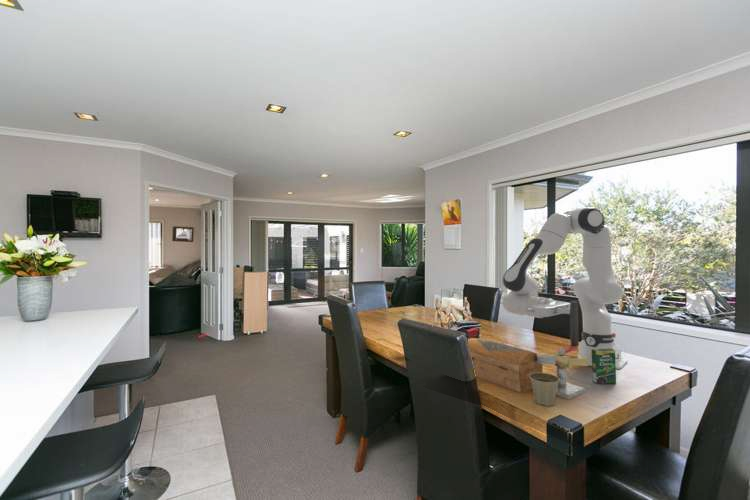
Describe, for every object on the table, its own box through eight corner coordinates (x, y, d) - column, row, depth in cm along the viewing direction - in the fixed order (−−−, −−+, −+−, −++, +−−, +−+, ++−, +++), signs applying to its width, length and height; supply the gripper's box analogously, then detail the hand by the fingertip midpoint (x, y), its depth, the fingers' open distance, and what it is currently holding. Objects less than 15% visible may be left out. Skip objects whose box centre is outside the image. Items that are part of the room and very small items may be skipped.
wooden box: (545, 385, 136) (544, 349, 136) (519, 395, 127) (519, 356, 127) (482, 365, 161) (482, 334, 161) (457, 372, 152) (457, 340, 152)
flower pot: (551, 411, 114) (550, 384, 114) (523, 401, 121) (523, 376, 121) (565, 403, 119) (564, 378, 119) (538, 394, 127) (538, 370, 127)
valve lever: (563, 355, 128) (562, 305, 129) (556, 354, 131) (555, 304, 131) (579, 349, 137) (578, 301, 137) (572, 347, 139) (571, 301, 139)
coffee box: (596, 384, 136) (595, 350, 136) (591, 381, 139) (590, 348, 139) (616, 384, 136) (616, 350, 136) (611, 381, 139) (611, 348, 139)
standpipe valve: (554, 381, 140) (553, 348, 140) (591, 392, 128) (590, 356, 128) (533, 388, 132) (532, 353, 132) (570, 401, 121) (570, 363, 121)
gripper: (523, 302, 144) (556, 306, 132) (551, 297, 155) (583, 301, 144) (523, 317, 144) (557, 323, 132) (551, 312, 155) (584, 316, 144)
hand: (571, 311), depth 138 cm, fingers closed, pressing on valve lever
